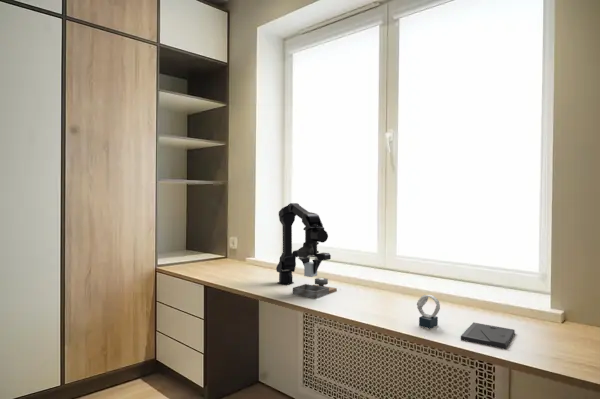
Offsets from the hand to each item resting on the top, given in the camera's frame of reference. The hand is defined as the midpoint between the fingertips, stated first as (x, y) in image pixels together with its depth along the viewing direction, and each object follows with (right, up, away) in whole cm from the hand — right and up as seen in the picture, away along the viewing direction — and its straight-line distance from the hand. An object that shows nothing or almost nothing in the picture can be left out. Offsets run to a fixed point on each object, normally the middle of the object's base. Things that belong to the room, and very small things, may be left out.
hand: (310, 273), depth 191 cm
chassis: (+2, -10, +3) cm, 11 cm away
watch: (+41, -11, -45) cm, 62 cm away
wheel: (+5, -6, +7) cm, 11 cm away
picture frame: (+58, -12, -56) cm, 81 cm away
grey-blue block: (0, -1, 0) cm, 1 cm away
